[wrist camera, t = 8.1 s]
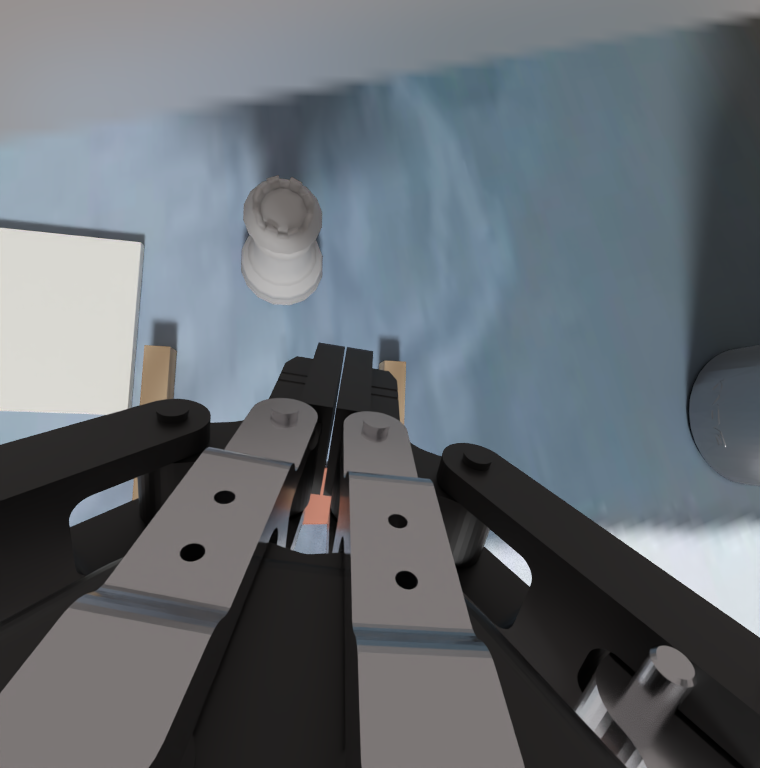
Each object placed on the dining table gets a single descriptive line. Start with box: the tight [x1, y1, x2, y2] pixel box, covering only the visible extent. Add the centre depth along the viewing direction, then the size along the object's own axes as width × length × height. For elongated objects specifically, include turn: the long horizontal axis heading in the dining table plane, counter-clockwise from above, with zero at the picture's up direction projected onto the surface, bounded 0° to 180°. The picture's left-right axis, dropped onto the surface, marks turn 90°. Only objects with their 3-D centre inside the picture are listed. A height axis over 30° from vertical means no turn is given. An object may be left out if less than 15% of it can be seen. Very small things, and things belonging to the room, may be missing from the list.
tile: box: [0, 228, 144, 415], centre depth 24 cm, size 9×9×1 cm
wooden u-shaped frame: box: [132, 345, 406, 524], centre depth 25 cm, size 13×9×2 cm
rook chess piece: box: [241, 175, 323, 305], centre depth 23 cm, size 4×4×8 cm
